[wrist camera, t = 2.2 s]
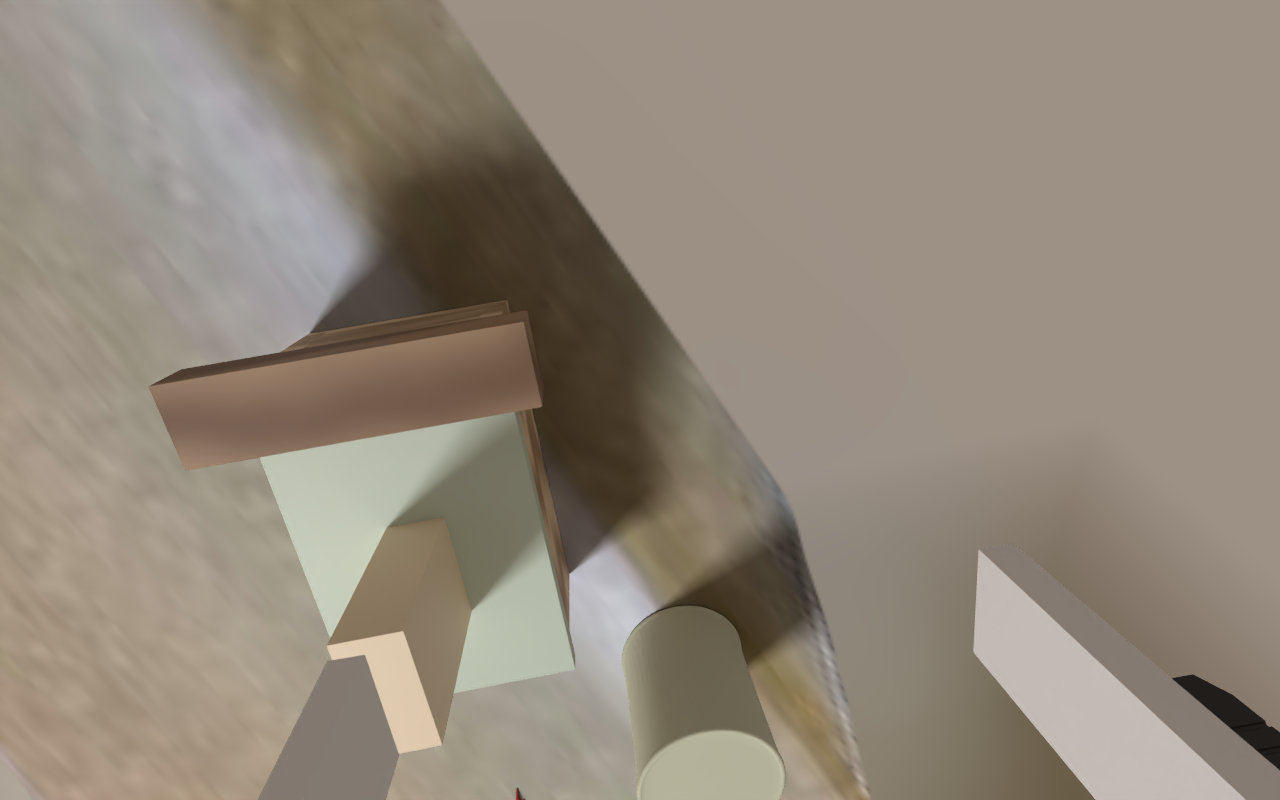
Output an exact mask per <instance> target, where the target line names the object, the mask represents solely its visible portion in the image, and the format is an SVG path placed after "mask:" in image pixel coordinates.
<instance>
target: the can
mask: <svg viewBox="0 0 1280 800" xmlns="http://www.w3.org/2000/svg"><path fill="white" fill-rule="evenodd" d="M622 667H623V672H624V675H625V678H626V683H627V692H628V700H629V709H630V717H631V726H632V736H633V746H634V755H635V765H636V776H637V800H780V798H781V796H782V794H783V791H784V787H785V781H786V771H785V766H784V762H783V760H782V757H781V755H780V753H779V752H778V749H777V747H776V744H775V742H774V739H773V736H772V734H771V731H770V728H769V726H768V723H767V720H766V717H765V715H764V712H763V709H762V707H761V704H760V701H759V698H758V696H757V693H756V690H755V687H754V684H753V682H752V679H751V676H750V673H749V670H748V667H747V664H746V661H745V658H744V655H743V652H742V646H741V641H740V638H739V635H738V633H737V631H736V629H735V628H734V626H733V625H732V624H731V623H730V622H729V621H728V620H727V619H726V618H725V617H724V616H722V615H721V614H719V613H717V612H715V611H713V610H711V609H708V608H704V607H699V606H676V607H671V608H667V609H664V610H662V611H659V612H657V613H655V614H653V615H651V616H649V617H648V618H646V619H645V620H644V621H642V622H641V623H640V624H639V625H638V626H637V627H636V628H635V629H634V630H633V632H632V633H631V634H630V636H629V637H628V639H627V641H626V644H625V646H624V649H623V654H622Z"/></svg>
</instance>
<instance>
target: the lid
mask: <svg viewBox="0 0 1280 800" xmlns="http://www.w3.org/2000/svg"><path fill="white" fill-rule="evenodd" d="M260 460H261V462H262V465H263V467H264V470H265V472H266V475H267V478H268V480H269V483H270V485H271V488H272V490H273V493H274V496H275V498H276V501H277V503H278V506H279V508H280V511H281V513H282V516H283V519H284V521H285V524H286V526H287V529H288V531H289V534H290V536H291V539H292V542H293V544H294V547H295V549H296V552H297V554H298V557H299V559H300V562H301V565H302V567H303V570H304V572H305V575H306V577H307V580H308V583H309V585H310V588H311V590H312V593H313V595H314V598H315V600H316V603H317V606H318V608H319V611H320V613H321V616H322V618H323V621H324V623H325V626H326V629H327V631H328V634H329V636H330V640H329V642H328V644H327V648H328V651H329V653H330V656H331V658H332V660H337V659H342V658H348V657H354V656H360V655H365V656H366V659H367V662H368V665H369V668H370V671H371V674H372V677H373V680H374V683H375V686H376V689H377V692H378V695H379V697H380V700H381V703H382V706H383V709H384V712H385V715H386V718H387V721H388V724H389V727H390V730H391V733H392V735H393V738H394V741H395V744H396V747H397V750H398V753H399V754H400V753H405V752H410V751H415V750H420V749H425V748H430V747H435V746H440V745H442V744H443V739H444V735H445V730H446V725H447V721H448V716H449V712H450V707H451V703H452V698H453V694H454V693H457V692H462V691H468V690H473V689H478V688H483V687H488V686H493V685H498V684H503V683H508V682H513V681H518V680H524V679H529V678H534V677H539V676H544V675H549V674H554V673H559V672H564V671H569V670H574V669H575V652H574V648H573V644H572V639H571V635H570V631H569V627H568V622H567V618H566V614H565V609H564V605H563V601H562V597H561V592H560V588H559V584H558V579H557V575H556V571H555V567H554V562H553V558H552V554H551V549H550V545H549V541H548V537H547V532H546V528H545V524H544V520H543V515H542V511H541V507H540V502H539V498H538V494H537V490H536V485H535V481H534V477H533V472H532V468H531V464H530V460H529V455H528V451H527V447H526V442H525V438H524V434H523V430H522V425H521V421H520V417H519V412H518V411H517V412H511V413H506V414H500V415H494V416H489V417H483V418H478V419H472V420H466V421H461V422H455V423H450V424H444V425H439V426H433V427H427V428H422V429H416V430H411V431H405V432H399V433H394V434H388V435H383V436H377V437H371V438H366V439H360V440H355V441H349V442H343V443H338V444H332V445H327V446H321V447H315V448H310V449H304V450H299V451H293V452H287V453H282V454H276V455H271V456H265V457H260Z"/></svg>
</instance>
